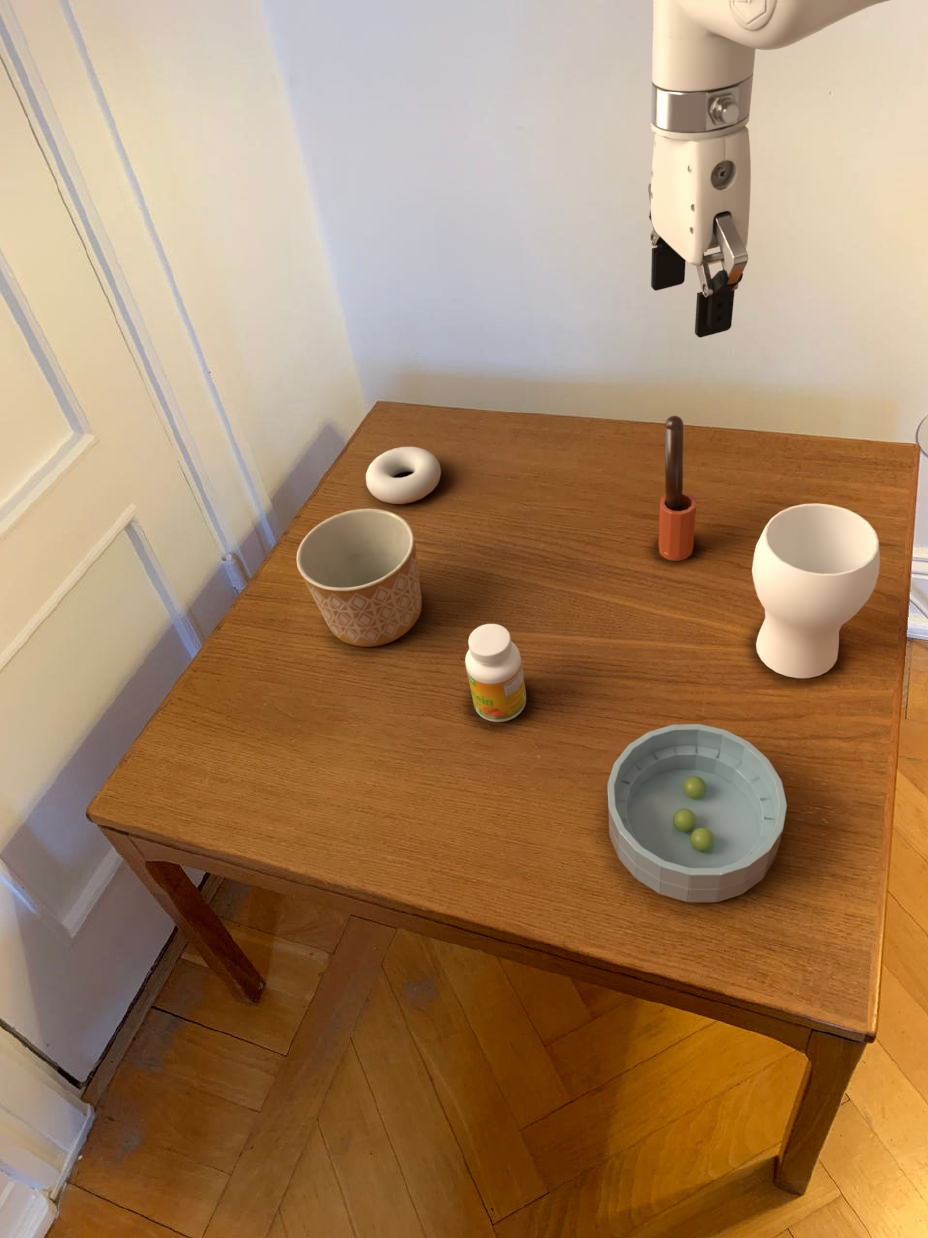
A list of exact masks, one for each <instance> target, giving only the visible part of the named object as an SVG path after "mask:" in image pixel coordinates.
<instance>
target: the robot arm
mask: <svg viewBox="0 0 928 1238" xmlns="http://www.w3.org/2000/svg"><path fill="white" fill-rule="evenodd" d="M652 1H653V2H652V3H653V4H652V12H653V13H652V15H653V16H652V54H651V55H652V58H651V59H652V62H651V64H652V65H651V71H652V72H651V112H650V114H651V115H650V117H651V118H650V119H651V120H650V129H651V132H653V133H654V141H653V151H652V165H651V179H650V180H651V181H650V183H648V186H647V190H648V199H649V205H650V210H649V215H648V218H649V220H650V222H651V226H652V231H651V233H650V234H649V235H650V236H649V238H650V239H649V240H650V244H651V246H652V248H651V266H650V267H651V269H650V270H651V271H650V272H651V274H650V286H651V288H652V289H653V290H654V291H656V292H657V291H661V290H665V289H669V288H672V287H673V288H674V287H676V286H680V285H682V284H684V282H685V278H686V262H688V263H689V264H691V265H693V266H695V267H696V271H697V275H698V280H699V284H700V288H701V291H700V292H696V304H695V319H694V320H695V321H694V322H695V323H694V334H695V336H696V337H697V338H704V337H708V336H713V335H715V334H721V333H724V332H727V331H730V329H731V327H732V324H733V323H732V322H733V311H734V303H735V302H734V301H735V291H736V290H738V288H739V283H741V281H742V279H743V276H744V271H745V268H746V267H747V264H748V261H749V253H748V251H747V247H748V240H749V239H748V238H749V227H750V207H751V183H752V182H751V181H752V179H751V177H752V176H751V174H752V173H751V170H752V169H751V168H752V167H751V166H752V165H751V163H752V162H751V161H752V159H751V144H750V143H751V142H750V131H749V128H748V127H747V126H746V125H748V123H749V121H750V113H751V102H752V93H753V92H752V91H753V81H754V71H755V59H756V50H762V51H772V50H778V49H779V50H780V49H782V48H787V47H788V46H789V47H790V46H791V45H793V44H796V43H798V42H800V41H802V40H804V39H806V38H808V37H810V36H812V35H815V34H816V33H818V32H820V31H823V29H825V28H827V27H830V26H831V25H833V24H835V23H837V22H839V21H841V20H844V19H845V18H848V17H850V16H851V15H854V14H856V13H858V12H860V11H863V10H865V9H867V8H869V7H873V6H875V5H878V4H882V3H885V2H889V1H890V0H652ZM715 248H719V251H717V252H714V253H710V254H706V255H705V253H707V252H708V250H711V249H712V250H713V249H715ZM718 263H721V268H722V270H718V271H717V272H716V273H715V274H714V276H712V275H711V270H710V265H715V264H718Z"/></svg>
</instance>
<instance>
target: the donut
mask: <svg viewBox="0 0 928 1238" xmlns="http://www.w3.org/2000/svg"><path fill="white" fill-rule="evenodd" d="M439 461H440V460H438V459H437V458H436V456H435V455H434V454H433V453H432V452H430V451H428V450H427V449H424V448H421V447H417V446H400V447H395V448H392V449H390V450H387V451H385V452H382V454H380V455H378V456H376V457H375V458H374V460H373V461H372V462H371V463H370V464H369V465H368V467H367V471H366V473H365V483H366V488H367V489H368V491H369V492H370V494H371V495H372V496H374V498H376V499H377V500H379V501H381V502H384V503H387V504H392V505H405V504H410V503H414V502H416V501H419V500H421V499H423V498H425V497H426V496H428V495H429V494H431V493H432V492H433V491H434V489H435V488H436V487H437V486H438V485H439V482H440V479H441V475H442V469H441V463H440V462H439ZM403 473H411V474H409V475H407V476H403V477H395V476H397V475H401V474H403Z"/></svg>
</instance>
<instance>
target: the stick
mask: <svg viewBox="0 0 928 1238" xmlns="http://www.w3.org/2000/svg"><path fill="white" fill-rule="evenodd" d="M664 450H665V451H664V467H665V468H664V470H665V471H664V476H665V477H664V478H665V479H664V480H665V483H664V485H665V491H664V492H665V494H664V496H665V502H666V507H667V508H668V509H671V510H673V511H682V500H683V492H684V491H683V489H684V485H683V484H684V482H683V481H684V474H683V473H684V421H683V419H682V417H680V416H678V415H671V416H669V417H667V419H666V420H665V423H664Z"/></svg>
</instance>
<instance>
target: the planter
mask: <svg viewBox="0 0 928 1238" xmlns="http://www.w3.org/2000/svg"><path fill="white" fill-rule="evenodd" d="M418 565H419V564H418V557H417V549H416V541H415V533H414V531H413V529H412V527H411V525H410V524H409V523H408V522H407V520H405V518H403V517H401V516H400V515H399V514H396V513H395V512H392V511H389V510H384V509H380V508H357V509H352V510H347V511H343V512H340V513H338V514H335V515H333V516H330V517H329V518H327V519H325V520H323V521H322V522H320V523H319V524H317V525H316V526H314V527H313V528H312V529H311V530H310V531H309V532H308V533H307V534H306V535H305V537H303V540H302V541H301V542H300V545H299V546H298V549H297V551H296V566H297V569H298V571H299V574H300V576H301V577H302V579H303V581H304V583H305V585H306V587H307V589H308V591H309V592H310V595H311V596H312V598H313V600H314V602H315V604H316V606H317V607H318V610H319V612H320V613H321V615H322V617H323V619H324V622H325V623H326V625H327V626H328V629H329V630H330V632H331V633H332V634H333V635H334V636H335V637H336V638H337V639H338V640H340V641H341V642H343V643H346V644H349V645H352V646H356V647H362V648H370V647H371V648H372V647H378V646H379V647H380V646H383V645H386V644H389V643H392V642H394V641H396V640H398V639H399V638H401V637H402V636H404V635H405V634H407V633H408V632H409V631H410V630H411V629H412V628H413V627H414V625H415V624H416V622H417V621H418V619H419V616H420V614H421V612H422V606H423V599H422V591H421V590H422V589H421V582H420V573H419V566H418Z"/></svg>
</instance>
